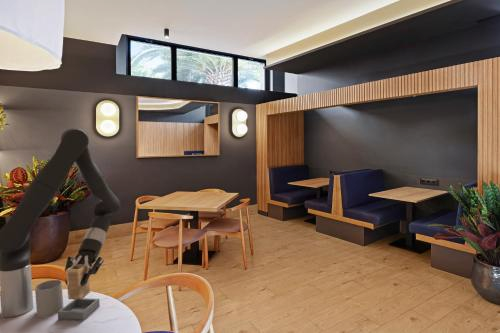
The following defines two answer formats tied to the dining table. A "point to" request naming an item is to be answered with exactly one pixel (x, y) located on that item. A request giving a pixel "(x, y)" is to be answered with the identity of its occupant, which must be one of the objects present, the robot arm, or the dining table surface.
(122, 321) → the dining table surface
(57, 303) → the cup
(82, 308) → the tray
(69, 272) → the oak crate
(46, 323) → the dining table surface
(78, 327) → the dining table surface
